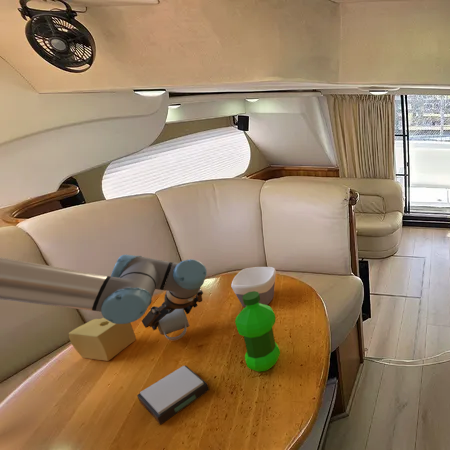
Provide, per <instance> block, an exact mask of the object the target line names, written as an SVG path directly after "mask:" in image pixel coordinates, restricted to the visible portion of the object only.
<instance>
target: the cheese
mask: <svg viewBox="0 0 450 450" xmlns="http://www.w3.org/2000/svg"><path fill="white" fill-rule="evenodd" d="M68 338H69V342H70V343H71V345H72V347H73V348H74V350H75V351H76V352H77V353H78V354H79V355H80V358H82V359H88V360H98V361H106V362H109V361H110V360H112V359H113V358H115V357H116V356H117V355H118V354H120V353H121V352H122V351H123V350H125V349H126V348H127V347H128V346H129V345H131V344H133V343H134V342H136V341H137V337H136V334H135V330H134V328H133V326H132V322H131V323H127V324H115V323H112V322H110V321H108V320H106V319H105V318H104V317H102V318H94V319H91V320H89V321H88V322H85V323H83V324H81V325H80V326H78V327H76V328H74V329H72V330H71V331H70V332H68Z"/></svg>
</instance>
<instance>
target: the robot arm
mask: <svg viewBox="0 0 450 450" xmlns="http://www.w3.org/2000/svg"><path fill="white" fill-rule="evenodd" d="M207 274H208V272H207V268H206V266H205V265H204V263H203V262H201V261H200V260H197V259H194V258H193V259H192V258H191V259H185V260H182V261H180V262H175V261H174V262H173V261H167V260H162V259H157V258H150V257H145V256H142V255H132V254H121V255H120V256H119V257H118V258H117V260H116V262H115V264H114V266H113V268H112V271H111V273H110V275H103V274H98V273H92V272H87V271H80V270H75V269H69V268H64V267H59V266H54V265H48V264H47V265H46V264H41V263H36V262H29V261H24V260H19V259H13V258H8V257H1V256H0V300H2V301H10V302H11V301H12V302H18V303H28V304H35V305H43V306H51V307H60V308H69V309H77V310H84V311H91V312H92V311H94V312H98V313H99V312H100V313H101V316H102V318H105V319H106V320H108V321H110V322H112V323H115V324H127V323H131V324H132V323H134V322H136V321H138V320H139V319H141V318H142V317H143V316H144V315H145V313H146V312H147V311H148V308H149V306H150V305H151V304H152V301H153V300H152V298H153V296H154V292H155V291H156V290H157V291H158V290H159V291H165V294H164V301H163V302H162V303H161V305H160V306H151V307H150V310H149V311H148V313H146V315H145V316H144V317H143V318H142V320H141V323H142V325H143V326H144V328H145V329H147V328H152V330H153V331H156V330H157V329H158V324H159V322H158V321H159V320H161V319H162V318H163V317H164V316H165V315H167V314H169V313H172V312H173V311H174V310H175V309H183V308H184V311H185V314H186V315H188V314H190V312H191V311H192V309H193V308H197V307H198V303H202V302H203V295H204V292H203V290H202V289H201V288H202V286H203V285H204V283H205V280H206V277H207Z"/></svg>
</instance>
